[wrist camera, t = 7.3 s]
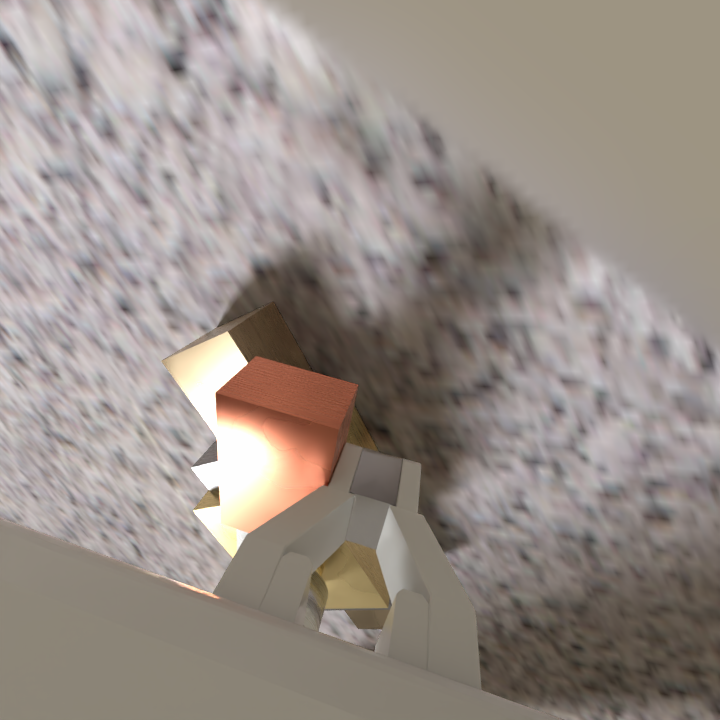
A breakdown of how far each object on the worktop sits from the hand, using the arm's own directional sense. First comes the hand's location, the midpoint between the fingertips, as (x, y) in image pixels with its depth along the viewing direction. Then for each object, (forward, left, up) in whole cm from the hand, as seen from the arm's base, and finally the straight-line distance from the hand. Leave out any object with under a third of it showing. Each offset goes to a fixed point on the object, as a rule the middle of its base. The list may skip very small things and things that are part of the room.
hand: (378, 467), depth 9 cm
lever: (-4, -1, 0) cm, 4 cm away
